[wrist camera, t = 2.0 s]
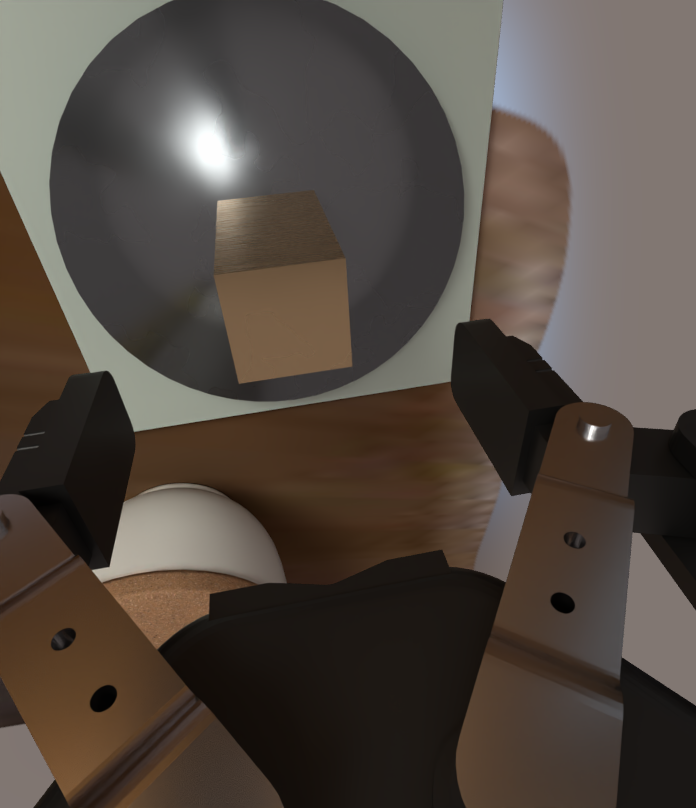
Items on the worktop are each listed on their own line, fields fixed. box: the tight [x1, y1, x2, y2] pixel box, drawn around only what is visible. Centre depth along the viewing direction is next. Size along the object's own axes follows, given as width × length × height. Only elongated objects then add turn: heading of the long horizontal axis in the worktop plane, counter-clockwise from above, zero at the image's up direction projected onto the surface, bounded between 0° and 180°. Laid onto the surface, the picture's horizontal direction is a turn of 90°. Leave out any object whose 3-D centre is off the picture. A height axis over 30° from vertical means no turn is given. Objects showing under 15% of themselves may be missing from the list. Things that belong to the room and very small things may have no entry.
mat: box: [0, 0, 503, 432], centre depth 19 cm, size 16×16×1 cm
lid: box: [49, 0, 464, 402], centre depth 16 cm, size 14×14×7 cm
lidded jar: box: [92, 483, 287, 649], centre depth 24 cm, size 11×11×9 cm
